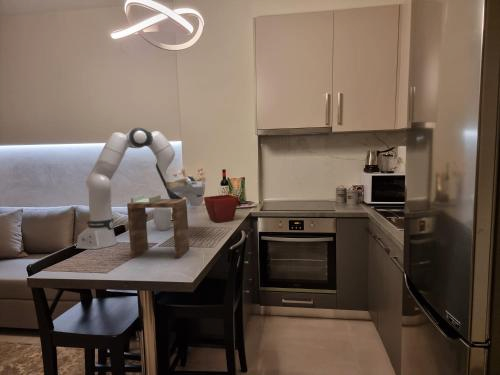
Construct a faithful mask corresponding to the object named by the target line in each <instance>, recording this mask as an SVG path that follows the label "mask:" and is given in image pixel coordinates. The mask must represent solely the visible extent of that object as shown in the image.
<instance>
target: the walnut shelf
mask: <svg viewBox="0 0 500 375" xmlns="http://www.w3.org/2000/svg"><path fill="white" fill-rule="evenodd" d="M187 201H188V200H187V199H186V198H183V199H170V198H161V200H158V201H155V202H152V203H131V202H128V203H126V206H127V207H126V208H127V209H126V210H127V218H128V219H127V220H128V222H127V223H128V234H129V236H128V237H129V246H130V258H131V259H136V258H138V257H139V256H141V255H142V254H144V253H145V252H147V251H148V250H149V240H148V228H147V226H148V224H147V214H146V213H147V212H146V211H147V210H146V209H151V208H152V209H156V208H170V209H171V212H172V213H173V214H172V222H173V224H172V229H173V243H174V259H175V260H176V259H181V258H182V257H183V256H184V255H186V253H187V252H189V251H190V241H189V240H190V238H189V235H190V234H189V220H188V205H187V204H188V203H187Z"/></svg>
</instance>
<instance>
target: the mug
mask: <svg viewBox="0 0 500 375" xmlns="http://www.w3.org/2000/svg"><path fill="white" fill-rule="evenodd" d="M152 213H153V214H152V216H153V224H154V225H155V229H157V230H158V231H159V232H162V231H168V230H169V229H170V227H171V226H173V221H172V215H173V213H172V208H160V209H156V208H154V209H152Z"/></svg>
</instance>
